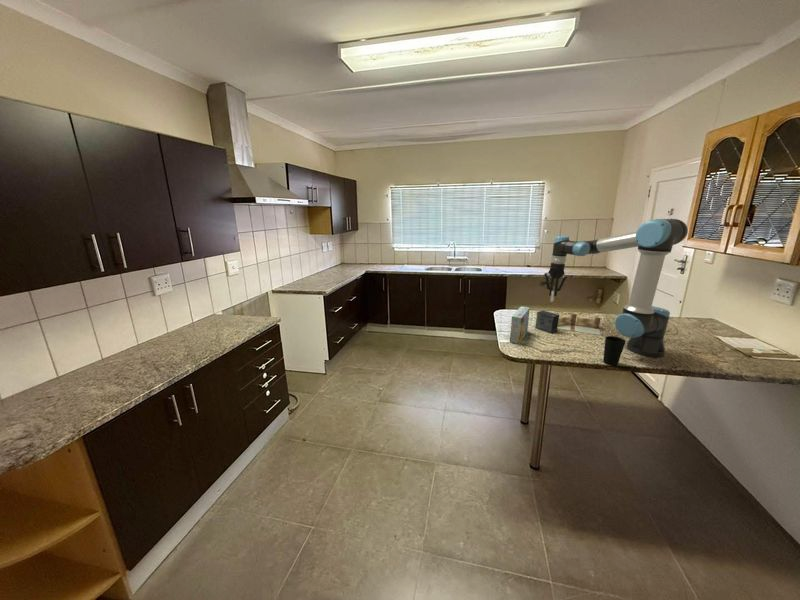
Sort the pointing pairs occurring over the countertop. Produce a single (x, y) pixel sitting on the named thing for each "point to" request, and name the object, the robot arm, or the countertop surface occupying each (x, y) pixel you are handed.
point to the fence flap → (564, 321)
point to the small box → (547, 321)
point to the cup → (613, 350)
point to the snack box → (519, 324)
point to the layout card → (580, 329)
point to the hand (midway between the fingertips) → (551, 301)
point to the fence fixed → (585, 321)
